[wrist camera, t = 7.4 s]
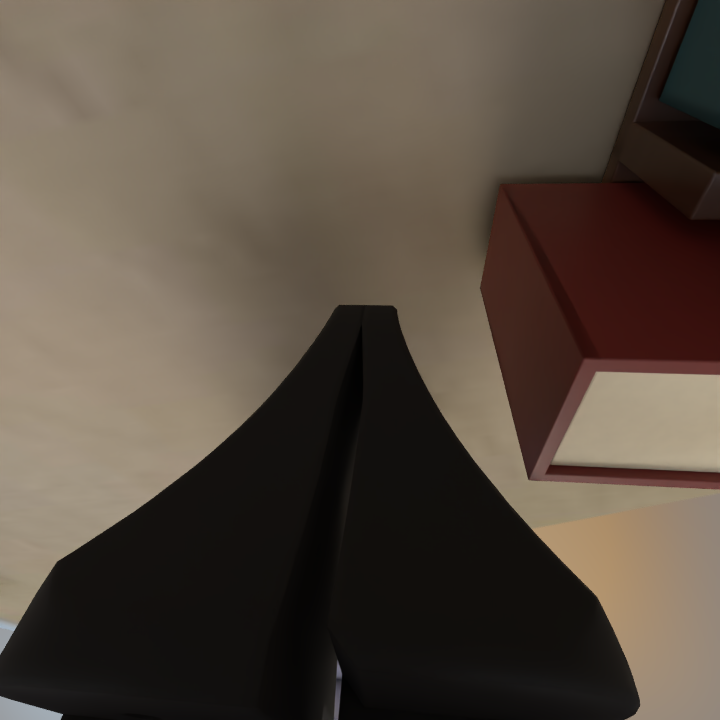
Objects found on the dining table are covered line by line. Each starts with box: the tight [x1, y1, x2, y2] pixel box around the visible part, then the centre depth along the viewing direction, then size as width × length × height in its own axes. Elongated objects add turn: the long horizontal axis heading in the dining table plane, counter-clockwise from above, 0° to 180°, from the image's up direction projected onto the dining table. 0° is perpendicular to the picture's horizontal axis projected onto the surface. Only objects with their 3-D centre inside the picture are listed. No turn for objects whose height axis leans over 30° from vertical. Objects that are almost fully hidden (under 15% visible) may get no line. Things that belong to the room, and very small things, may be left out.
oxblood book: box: [480, 183, 720, 489], centre depth 10 cm, size 4×9×8 cm, turn 92°
